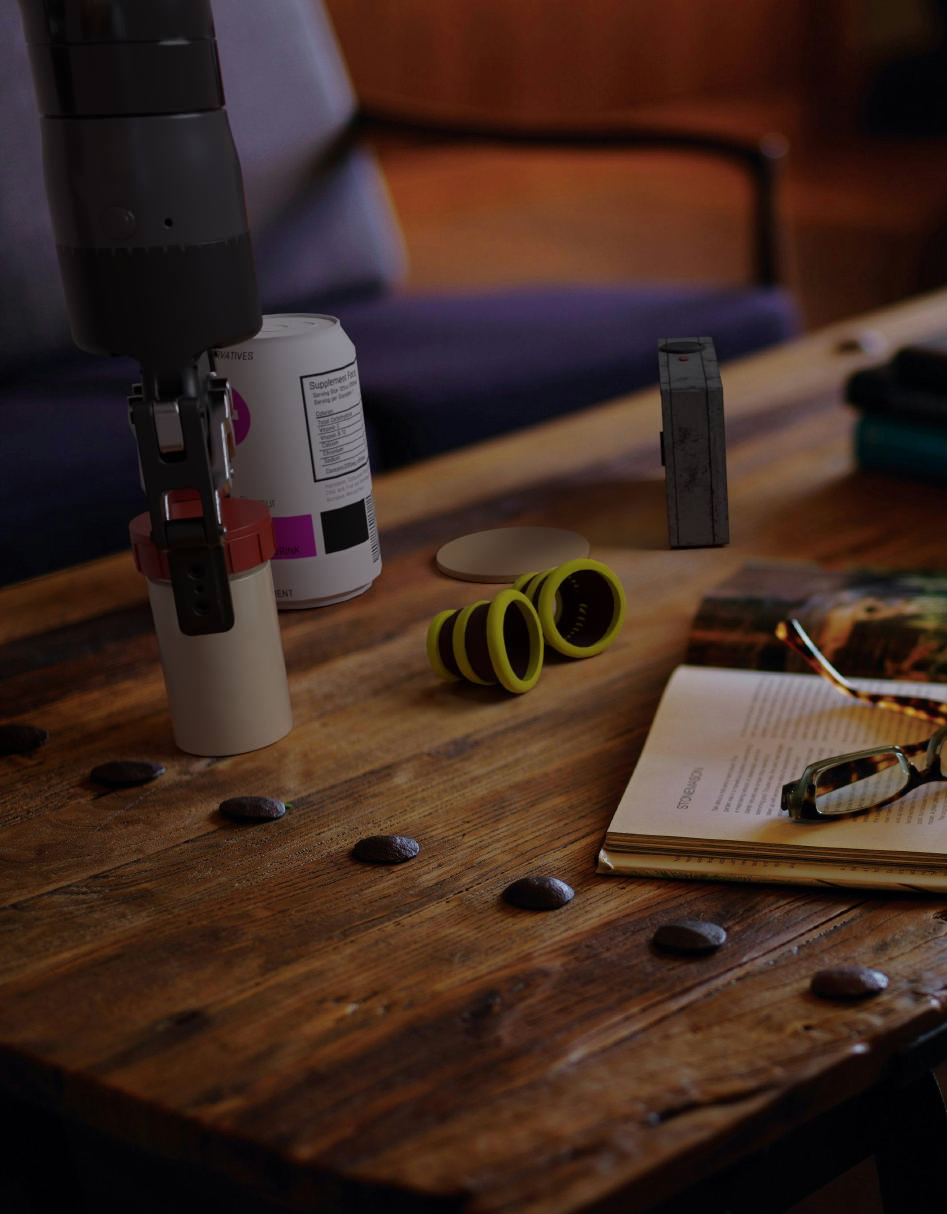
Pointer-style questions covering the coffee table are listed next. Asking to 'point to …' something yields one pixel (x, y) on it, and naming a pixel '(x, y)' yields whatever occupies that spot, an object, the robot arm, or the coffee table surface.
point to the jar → (225, 671)
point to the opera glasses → (529, 626)
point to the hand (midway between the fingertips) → (213, 598)
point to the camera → (693, 442)
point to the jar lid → (243, 546)
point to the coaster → (510, 553)
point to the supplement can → (305, 456)
